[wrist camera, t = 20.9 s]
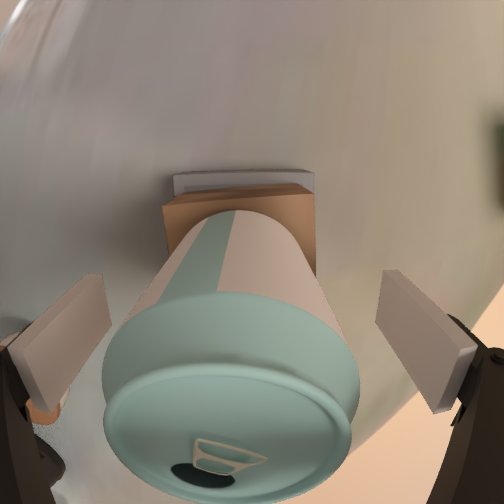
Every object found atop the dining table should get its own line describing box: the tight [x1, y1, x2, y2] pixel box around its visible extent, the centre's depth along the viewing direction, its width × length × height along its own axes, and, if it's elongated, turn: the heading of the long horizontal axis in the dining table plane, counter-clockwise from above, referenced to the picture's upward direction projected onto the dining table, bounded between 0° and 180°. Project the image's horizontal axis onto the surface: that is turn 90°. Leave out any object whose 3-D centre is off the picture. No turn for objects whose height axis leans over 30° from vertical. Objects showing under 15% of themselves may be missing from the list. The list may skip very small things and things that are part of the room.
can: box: [102, 210, 360, 504], centre depth 12 cm, size 7×7×12 cm
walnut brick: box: [162, 183, 316, 278], centre depth 20 cm, size 8×8×6 cm
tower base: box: [173, 170, 314, 198], centre depth 25 cm, size 10×10×4 cm
